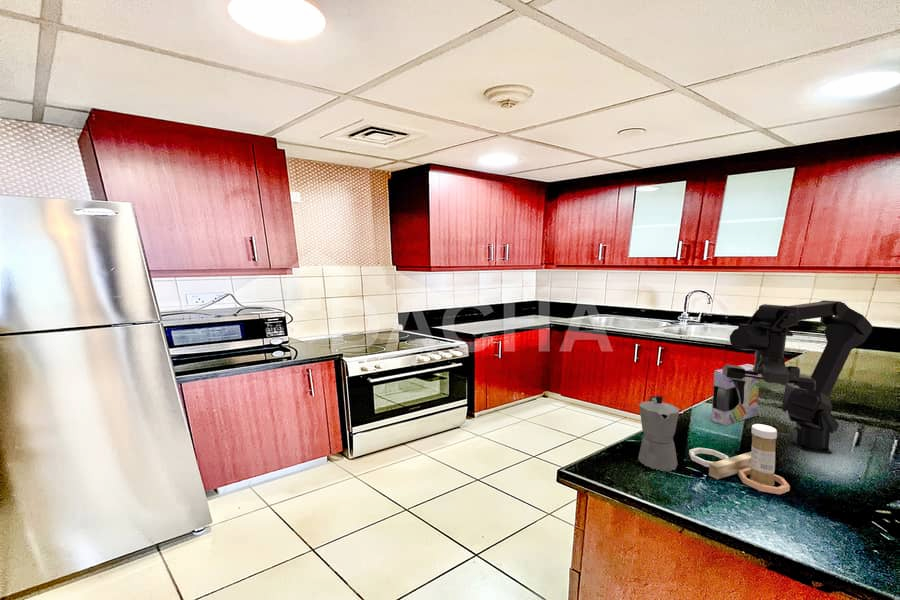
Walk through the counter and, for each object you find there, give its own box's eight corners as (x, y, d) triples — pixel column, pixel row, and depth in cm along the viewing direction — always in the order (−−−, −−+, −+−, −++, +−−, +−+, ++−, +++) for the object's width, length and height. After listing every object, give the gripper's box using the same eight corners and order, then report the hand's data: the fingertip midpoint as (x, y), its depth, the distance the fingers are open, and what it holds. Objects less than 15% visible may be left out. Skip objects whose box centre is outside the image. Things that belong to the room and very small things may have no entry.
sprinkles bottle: (773, 480, 89) (776, 426, 88) (775, 489, 86) (778, 432, 85) (748, 474, 92) (751, 421, 91) (749, 483, 88) (752, 428, 87)
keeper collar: (778, 477, 91) (778, 472, 91) (794, 497, 83) (795, 492, 83) (735, 470, 94) (735, 465, 94) (746, 488, 86) (746, 483, 86)
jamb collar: (724, 455, 102) (724, 451, 102) (734, 471, 94) (734, 466, 94) (687, 449, 105) (687, 445, 105) (693, 464, 97) (693, 460, 97)
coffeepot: (685, 478, 91) (687, 406, 89) (642, 473, 94) (644, 402, 92) (669, 449, 105) (671, 387, 104) (632, 445, 108) (633, 384, 107)
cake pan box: (724, 427, 120) (726, 373, 119) (708, 421, 124) (710, 369, 123) (759, 417, 127) (761, 366, 126) (742, 412, 132) (745, 363, 131)
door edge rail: (750, 462, 98) (751, 451, 98) (759, 466, 96) (759, 455, 96) (708, 475, 92) (709, 463, 92) (717, 479, 90) (717, 467, 90)
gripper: (735, 350, 98) (728, 408, 99) (830, 362, 90) (821, 425, 91) (725, 344, 108) (718, 397, 109) (809, 354, 100) (802, 412, 101)
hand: (762, 407), depth 102 cm, fingers open, 9 cm apart
